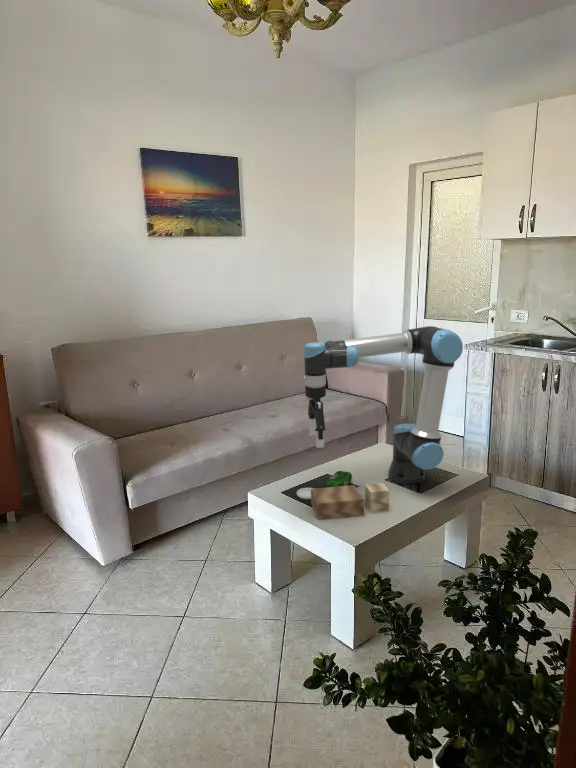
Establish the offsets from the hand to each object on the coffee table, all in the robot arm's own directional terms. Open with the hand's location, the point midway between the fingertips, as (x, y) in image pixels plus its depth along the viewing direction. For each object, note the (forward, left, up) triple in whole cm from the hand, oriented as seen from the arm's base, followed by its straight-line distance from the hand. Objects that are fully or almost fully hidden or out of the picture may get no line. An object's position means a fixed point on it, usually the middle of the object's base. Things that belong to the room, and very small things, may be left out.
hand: (316, 441), depth 197 cm
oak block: (-21, +8, -25) cm, 34 cm away
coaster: (+2, -8, -25) cm, 26 cm away
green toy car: (-12, -12, -25) cm, 30 cm away
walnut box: (-6, +7, -25) cm, 27 cm away
